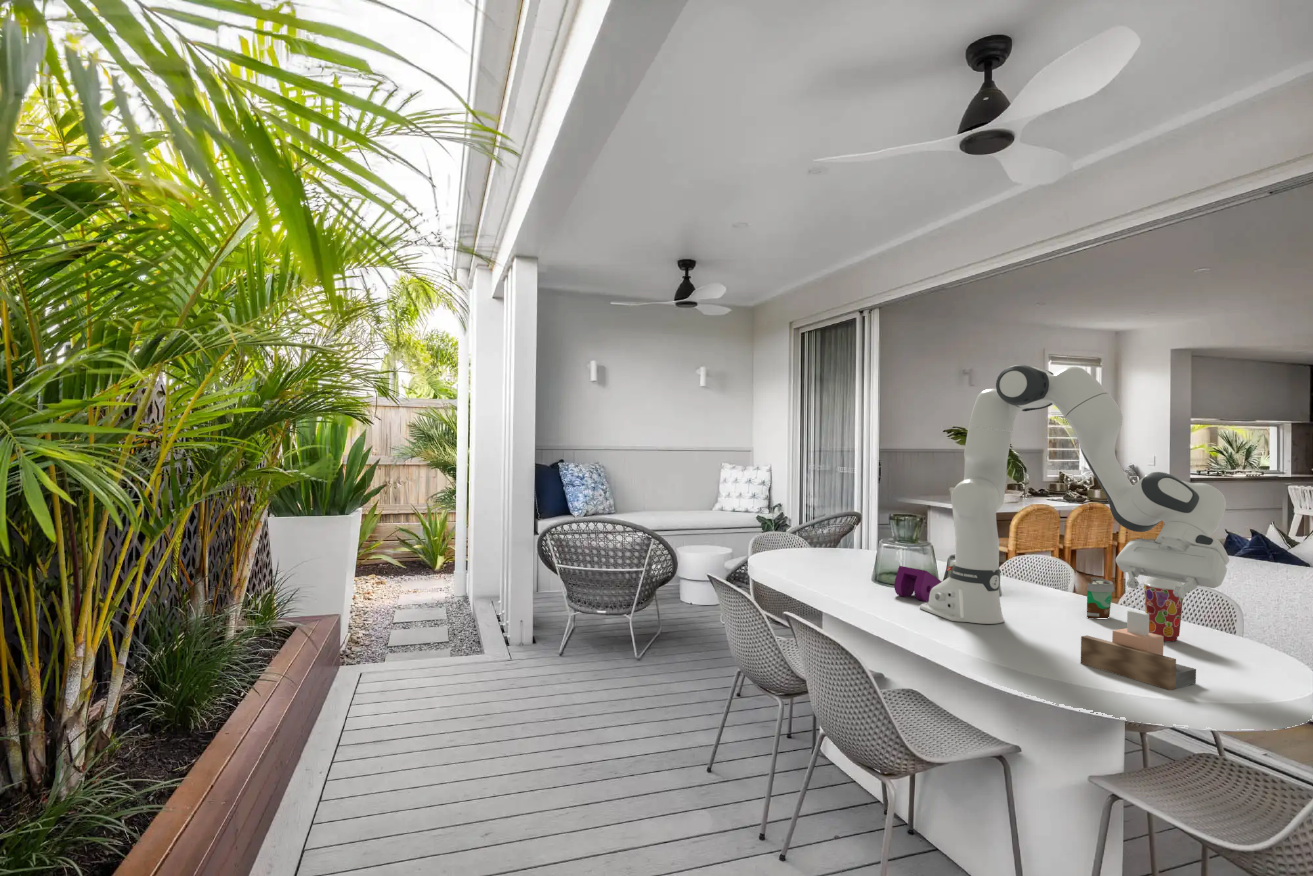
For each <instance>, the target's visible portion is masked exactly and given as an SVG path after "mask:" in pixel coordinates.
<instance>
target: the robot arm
mask: <svg viewBox="0 0 1313 876" xmlns="http://www.w3.org/2000/svg"><path fill="white" fill-rule="evenodd" d="M1052 405H1053V406H1055V407H1056V408H1057V409H1058V410H1059V412H1060V413H1061V414H1062V416H1063V417H1064V418H1065V420H1066V421H1067V423H1068V424H1069V426H1070V427H1071V428H1072V430H1073V433H1074V435H1075V437H1076V439H1077V442H1078V444H1079V447H1080V451H1081V454H1082V456H1083V459H1084V460H1085V462H1086V463H1087V466H1088V468H1089V469H1090V471H1091V472H1092V474H1093V476H1094V478H1095V479H1096V482H1097V483H1098V484H1099V486H1100V488H1101V490H1102V492H1103V494H1105V497H1106V500H1107V502H1108V505H1109V509H1110V513H1111V515H1112V517H1113V518H1114V520H1115V521H1116V522H1117V523H1118V524H1119V525H1120V526H1121V527H1124V528H1125V529H1127V530H1128V531H1132V532H1136V533H1145V532H1149V531H1151V530H1152V529H1153V528H1155V527H1156V526H1157V525H1159V523H1160V522H1161V521H1162V522H1163V523H1164V525H1163V526H1162V528H1161V530H1160V531H1159V533H1158V535H1157V537H1156V539H1155V540H1154V539H1144V538H1139V537H1138V538H1136V539H1133V540H1129V541H1128V542H1127V543H1126V545H1125V546H1124V547H1122V549H1121V551H1120V552H1119V553H1118V555H1117V556H1116V558H1115V563H1116V565H1117V567H1118V569H1119V570H1120V571H1121V572H1123V573H1127V574H1128V579H1127V581H1126V585H1127V587H1128V588H1129V589H1134V590H1135V589H1136V590H1137V589H1138V587H1139V585H1140V582H1139V581H1138V579H1137V578H1138V577H1140V576H1143V577H1148V576H1149V577H1155V578H1160V579H1166V580H1171V581H1177V582H1181V583H1183V584H1182V586H1180V587H1178V586H1176V587H1175V590H1174V591H1173V594H1174V595H1175V597H1179V598H1183V599H1184V598H1185V596H1186V595H1187V594H1188V593H1189V592H1192V591H1194V590H1196V589H1197V588H1198V586H1201V587H1204V588H1210V589H1215V588H1216V589H1217V588H1218V587H1219V586H1221V585H1222V583H1223V582H1224V580H1225V577H1226V574H1227V571H1228V570H1227V569H1228V567H1227V565H1228V563H1229V561H1230V559H1229V555H1228V553H1227V551H1226V549H1225V547H1224V545H1223V544H1222V543H1221V541H1220V540H1219V539H1217V538H1215V537H1212V535H1213V534H1214V533H1215V532H1217V530H1218V528H1219V526H1220V524H1221V522H1222V520H1223V518H1224V515H1225V513H1226V509H1227V508H1226V507H1227V501H1226V497H1225V496H1224V494H1223V493H1222V492H1221V491H1220V490H1219V489H1218V488H1216V487H1215V486H1213V485H1211V484H1208V483H1205V482H1188V481H1184V480H1181V479H1179V478H1178V477H1176V476H1174V475H1172V474H1170V473H1167V472H1162V471H1156V472H1150V473H1148V474H1146V475H1145V476H1144V477H1142V478H1140V479H1139V480H1138V481H1136V482H1135V484H1132V483H1131V481H1130V479H1129V477H1128V476H1127V474H1126V473H1125V471H1124V469H1123V468H1122V466H1121V463H1119V461H1118V459H1117V456H1116V443H1117V439H1118V436H1119V433H1120V431H1121V428H1122V425H1123V420H1124V419H1123V417H1124V416H1123V413H1122V411H1121V409H1120V407H1119V405H1118V403H1117V402H1116V401H1115V399H1114V398H1113V397H1112V395H1111V394H1110V393H1109V392H1108V391H1107V390H1106V388H1105V387H1104V386H1103V385H1102V384H1101V383H1100V381H1098V380H1097V379H1096V378H1095V377H1094V376H1093V375H1091V373H1090V372H1088V371H1087V370H1085V369H1084V368H1083V367H1081V366H1069V367H1065V368H1063V369H1061V370H1059V371H1057V372H1056V373H1053V372H1051V371H1050V370H1045V369H1044V368H1041V367H1038V366H1033V365H1031V366H1030V365H1026V364H1017V365H1016V364H1015V365H1012V366H1008V367H1007V368H1005V369H1003V370H1002V371H1001V372H1000V374H999V375H998V376H997V378H996V382H995V388H987V389H985V390H982V391H981V392H980V393H978V395H977V396H976V399H975V402H974V405H973V408H972V411H971V414H970V418H969V421H968V423H969V424H968V428H967V434H966V438H965V439H966V440H965V444H964V445H965V446H964V451H963V452H964V453H963V457H964V472H963V473H964V475H963V480H961V481H960V482H959V483H957V484H956V485H955V487H954V488H953V489H952V492H951V497H950V503H951V506H952V507H951V508H952V517H953V518H952V519H953V527H954V534H955V535H954V536H955V548H954V549H955V551H954V553H955V555H954V561H955V562H954V564H953V565H951V566H946V571H947V572H950V573H949V576H948V577H947V578H946V579H944V580H943V581H942V582H941V583H939V584H938V585H936V586H934V587H933V588H932V589H931V591H930V595H929V601H927V602H923V603H921V604H920V605H919V609H920V610H922V611H923V610H924V611H926V612H929V613H931V614H933V615H936V616H939V617H941V618H944V619H946V620H948V621H952V622H961V623H962V622H965V623H971V624H988V625H990V624H991V625H993V624H995V625H996V624H1002V623H1004V622H1005V618H1004V615H1003V611H1002V606H1001V598H1000V584H1001V569H1000V567H999V565H1000V563H999V561H1000V539H999V534H998V533H999V532H998V524H997V512H998V511H999V510H1000V509H1001V508H1002V507H1003V504H1004V501H1005V493H1006V485H1007V475H1008V474H1007V473H1008V472H1007V471H1008V459H1009V452H1010V446H1011V442H1012V436H1013V431H1014V423H1015V419H1016V417H1017V415H1018V413H1020V412H1021V411H1022V412H1028V411H1029V412H1030V411H1034V410H1035V411H1036V410H1042V409H1046V408H1048V407H1049V408H1050V407H1051V406H1052Z"/></svg>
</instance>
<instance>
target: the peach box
mask: <svg viewBox="0 0 1313 876" xmlns="http://www.w3.org/2000/svg"><path fill="white" fill-rule="evenodd" d="M1126 619H1127V620H1126V621H1127V622H1126V628H1120V629H1113V630H1112V641H1111V642H1114V643H1117V644H1121V645H1125V646H1129V647H1133V648H1136V649H1140V650H1144V651H1148V652H1152V653H1155V654H1159V655H1163V656H1164V641H1163V639H1164V636H1161V635H1157V634H1153V633H1149V614H1147V613H1145V612H1142V611H1137V610H1133V609H1132V610H1131V609H1130V610H1127V618H1126Z"/></svg>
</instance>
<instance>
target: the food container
mask: <svg viewBox="0 0 1313 876" xmlns="http://www.w3.org/2000/svg"><path fill="white" fill-rule="evenodd" d="M1115 591H1116V590H1115V586H1114V584H1113V581H1111V580H1107V579H1105V578H1104V579H1103V578H1098V577H1091V581H1090V582H1088V583H1087V587H1086V618H1087V617H1088V618H1087V619H1089V618H1108V617H1109V618H1110V616H1111V615H1110V614H1111V605H1112V596H1113V592H1115Z"/></svg>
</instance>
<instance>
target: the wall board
mask: <svg viewBox="0 0 1313 876" xmlns="http://www.w3.org/2000/svg"><path fill="white" fill-rule="evenodd" d="M1080 664H1082V665H1085V666H1088V667H1092V668H1095V669H1099V670H1101V669H1102V670H1101V671H1105V672H1109V673H1112V674H1116V675H1118V676H1121V677H1124V678H1129V679H1132V680H1135V681H1138V682H1141V683H1144V684H1148V683H1149V685H1152V686H1154V687H1155V686H1156V687H1157V688H1162V689H1164V690H1168V691H1171V690H1176V689H1179V688H1184V687H1187V685H1188V686H1191V685H1190V684H1192V685H1194V684H1193V683H1196V684H1197V669H1196V668H1193V667H1190V666H1186V665H1182V664H1178V663H1177V659H1176V658H1174V657H1170V656H1166V655H1164V654H1163V655H1159V654H1155V653H1152V652H1148V651H1144V650H1140V649H1136V648H1133V647H1129V646H1125V645H1121V644H1117V643H1114V642H1112V641H1109V640H1107V639H1102V638H1098V637H1094V636H1090V635H1082V636H1081V637H1080Z"/></svg>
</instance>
